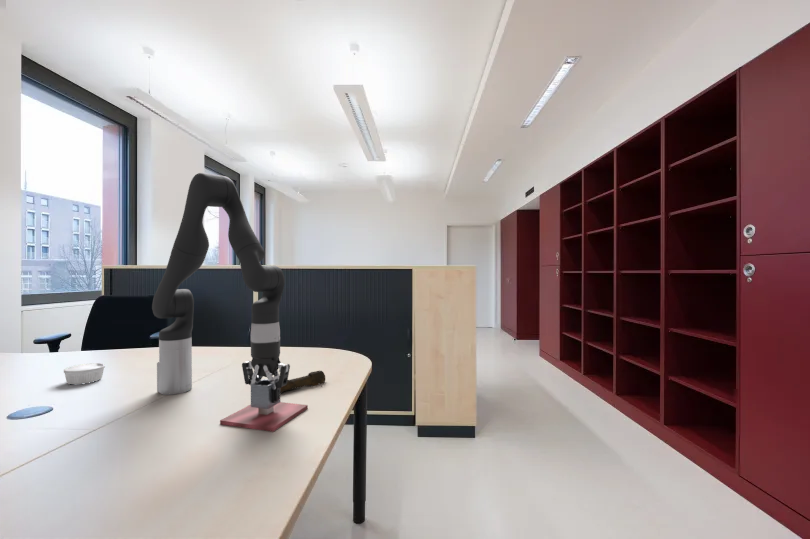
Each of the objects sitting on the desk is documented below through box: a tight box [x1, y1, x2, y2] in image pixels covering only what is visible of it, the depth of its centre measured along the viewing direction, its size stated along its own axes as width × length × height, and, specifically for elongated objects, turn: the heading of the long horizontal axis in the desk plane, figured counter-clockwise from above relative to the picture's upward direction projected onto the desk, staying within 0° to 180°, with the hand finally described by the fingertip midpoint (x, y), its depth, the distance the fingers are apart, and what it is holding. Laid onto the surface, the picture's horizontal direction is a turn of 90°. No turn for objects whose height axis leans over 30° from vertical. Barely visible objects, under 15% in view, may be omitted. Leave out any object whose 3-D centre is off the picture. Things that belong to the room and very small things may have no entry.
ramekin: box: [63, 362, 106, 385], centre depth 137 cm, size 11×11×5 cm
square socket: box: [250, 378, 281, 409], centre depth 105 cm, size 5×5×6 cm
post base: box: [219, 401, 309, 433], centre depth 105 cm, size 16×16×6 cm
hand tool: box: [280, 370, 326, 394], centre depth 129 cm, size 19×4×5 cm, turn 131°
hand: (265, 400), depth 105 cm, fingers closed on square socket, 5 cm apart
